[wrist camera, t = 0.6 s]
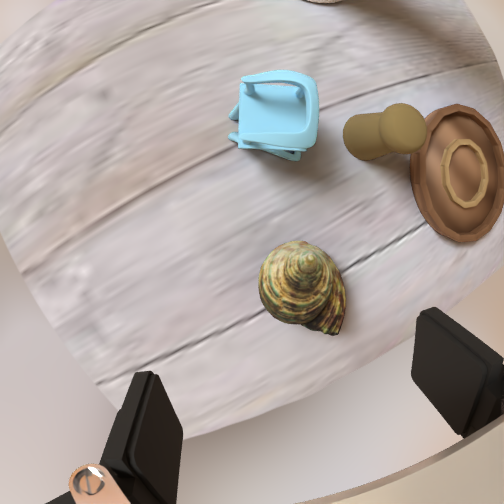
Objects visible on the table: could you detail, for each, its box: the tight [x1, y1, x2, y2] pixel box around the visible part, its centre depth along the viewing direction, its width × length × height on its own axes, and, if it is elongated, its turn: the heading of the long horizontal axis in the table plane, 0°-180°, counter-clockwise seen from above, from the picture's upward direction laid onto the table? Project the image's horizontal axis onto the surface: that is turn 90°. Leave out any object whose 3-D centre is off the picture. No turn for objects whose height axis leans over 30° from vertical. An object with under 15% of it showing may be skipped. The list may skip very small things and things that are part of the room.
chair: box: [228, 70, 319, 161], centre depth 28 cm, size 8×8×12 cm
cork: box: [343, 103, 427, 161], centre depth 29 cm, size 6×6×11 cm
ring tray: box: [410, 104, 504, 242], centre depth 35 cm, size 20×20×2 cm
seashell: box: [259, 241, 346, 336], centre depth 33 cm, size 11×11×10 cm
